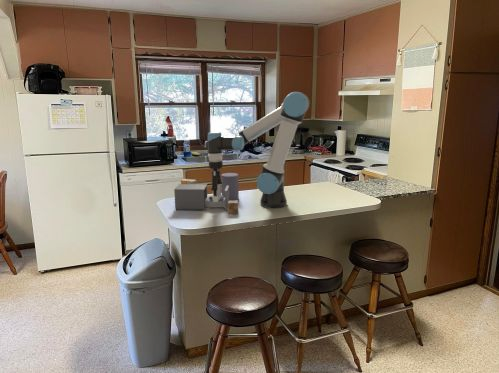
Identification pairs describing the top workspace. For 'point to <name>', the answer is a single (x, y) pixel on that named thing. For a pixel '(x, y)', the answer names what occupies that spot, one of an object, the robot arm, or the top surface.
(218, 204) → the tray
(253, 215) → the top surface
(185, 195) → the grey box
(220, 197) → the disc
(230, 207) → the walnut block
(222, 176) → the container
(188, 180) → the supplement box
